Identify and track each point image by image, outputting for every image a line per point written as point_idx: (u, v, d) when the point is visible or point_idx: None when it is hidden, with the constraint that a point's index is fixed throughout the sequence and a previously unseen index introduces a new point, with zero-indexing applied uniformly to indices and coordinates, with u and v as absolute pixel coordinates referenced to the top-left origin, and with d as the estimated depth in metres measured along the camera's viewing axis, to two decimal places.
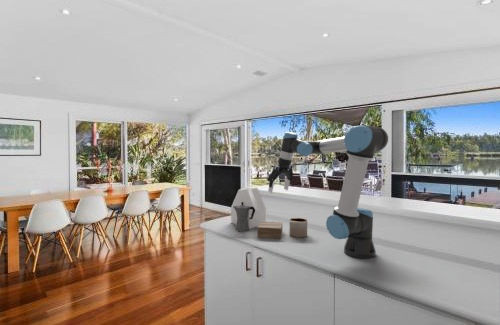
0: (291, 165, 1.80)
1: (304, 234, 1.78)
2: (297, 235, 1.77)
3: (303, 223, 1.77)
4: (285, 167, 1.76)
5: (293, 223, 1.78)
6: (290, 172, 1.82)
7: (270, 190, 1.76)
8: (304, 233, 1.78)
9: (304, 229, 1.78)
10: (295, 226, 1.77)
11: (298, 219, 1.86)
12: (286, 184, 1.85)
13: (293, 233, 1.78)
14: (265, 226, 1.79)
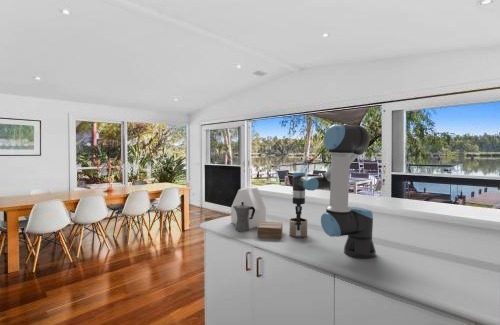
0: None
1: (304, 234, 1.78)
2: None
3: (303, 223, 1.77)
4: None
5: (293, 223, 1.78)
6: None
7: (298, 233, 1.76)
8: (304, 233, 1.78)
9: (304, 229, 1.78)
10: (295, 226, 1.77)
11: None
12: None
13: (293, 233, 1.78)
14: (265, 226, 1.79)
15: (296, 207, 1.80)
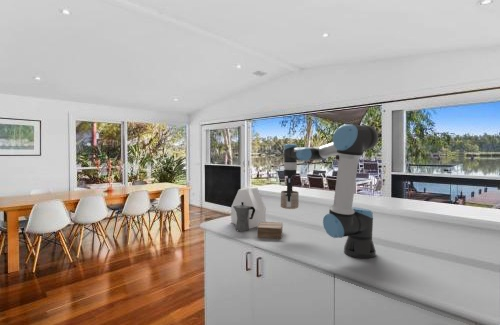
0: (291, 176, 1.87)
1: (295, 206, 1.77)
2: None
3: (294, 194, 1.77)
4: None
5: (284, 195, 1.78)
6: None
7: (289, 205, 1.76)
8: (295, 205, 1.77)
9: (295, 201, 1.77)
10: (286, 197, 1.77)
11: None
12: None
13: (284, 204, 1.78)
14: (265, 226, 1.79)
15: None
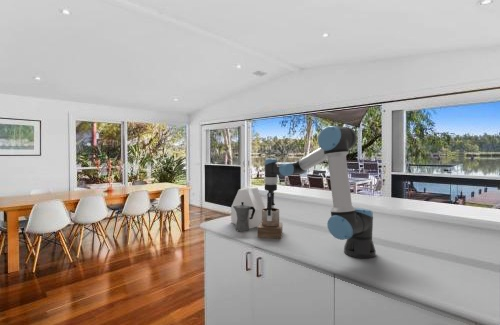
0: None
1: (276, 223, 1.78)
2: (268, 224, 1.77)
3: (274, 212, 1.77)
4: (272, 192, 1.82)
5: (265, 213, 1.78)
6: None
7: (270, 219, 1.75)
8: (275, 222, 1.78)
9: (275, 218, 1.78)
10: (266, 216, 1.78)
11: None
12: None
13: (265, 222, 1.78)
14: (265, 226, 1.79)
15: (268, 193, 1.80)
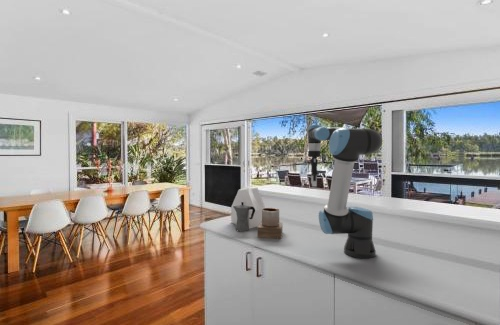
0: None
1: (276, 224, 1.78)
2: (268, 224, 1.77)
3: (274, 212, 1.77)
4: None
5: (265, 213, 1.78)
6: None
7: (315, 184, 1.76)
8: (275, 223, 1.78)
9: (275, 219, 1.78)
10: (266, 215, 1.78)
11: (271, 209, 1.86)
12: None
13: (265, 222, 1.78)
14: (265, 226, 1.79)
15: (312, 160, 1.81)
